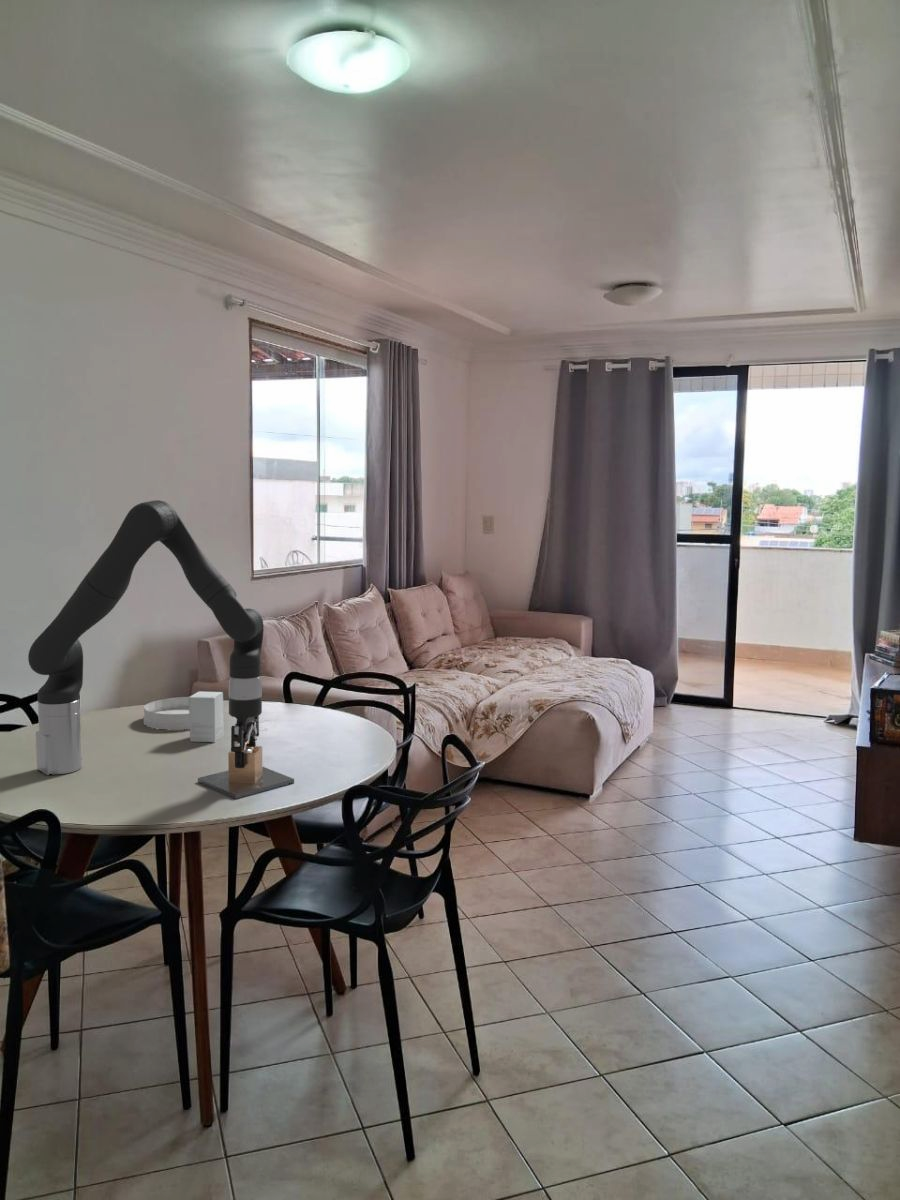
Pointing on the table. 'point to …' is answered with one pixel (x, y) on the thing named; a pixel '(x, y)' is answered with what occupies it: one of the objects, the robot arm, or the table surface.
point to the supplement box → (206, 716)
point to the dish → (168, 714)
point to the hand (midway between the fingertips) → (245, 762)
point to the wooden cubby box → (246, 766)
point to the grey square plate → (243, 789)
